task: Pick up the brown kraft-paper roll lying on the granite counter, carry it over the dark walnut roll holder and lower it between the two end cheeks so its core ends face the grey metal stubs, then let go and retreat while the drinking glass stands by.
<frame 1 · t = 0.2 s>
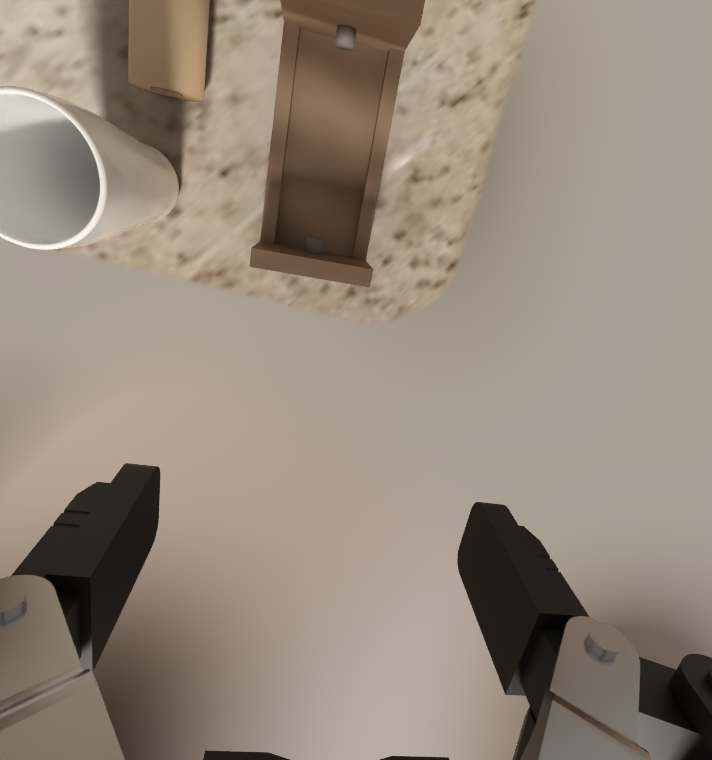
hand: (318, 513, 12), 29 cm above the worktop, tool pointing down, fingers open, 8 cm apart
roll: (180, 14, 31), on the worktop
holder: (327, 154, 35), on the worktop
drinking glass: (144, 183, 35), on the worktop
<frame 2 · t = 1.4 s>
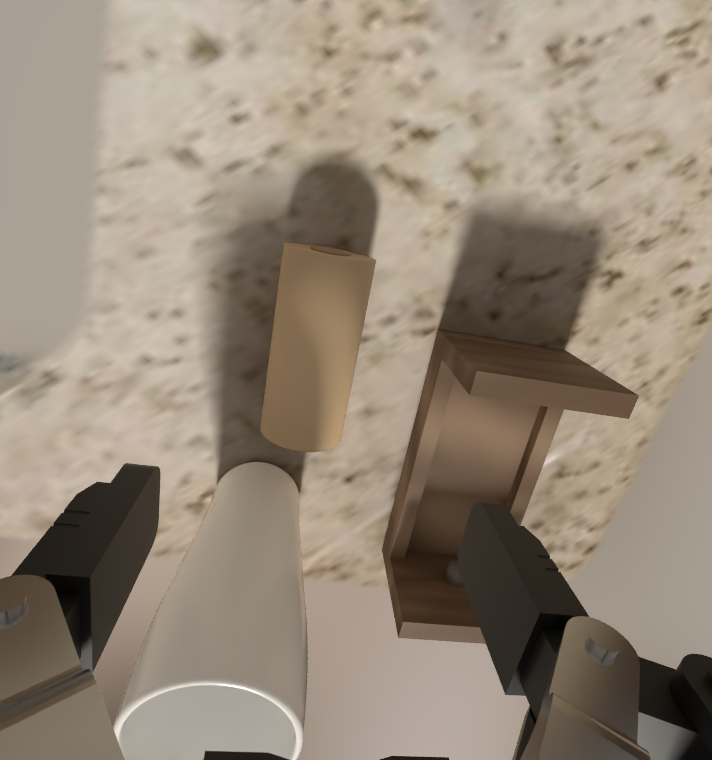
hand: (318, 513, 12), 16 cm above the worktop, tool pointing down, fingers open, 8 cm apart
roll: (314, 335, 27), on the worktop
holder: (466, 457, 30), on the worktop
drinking glass: (258, 491, 30), on the worktop
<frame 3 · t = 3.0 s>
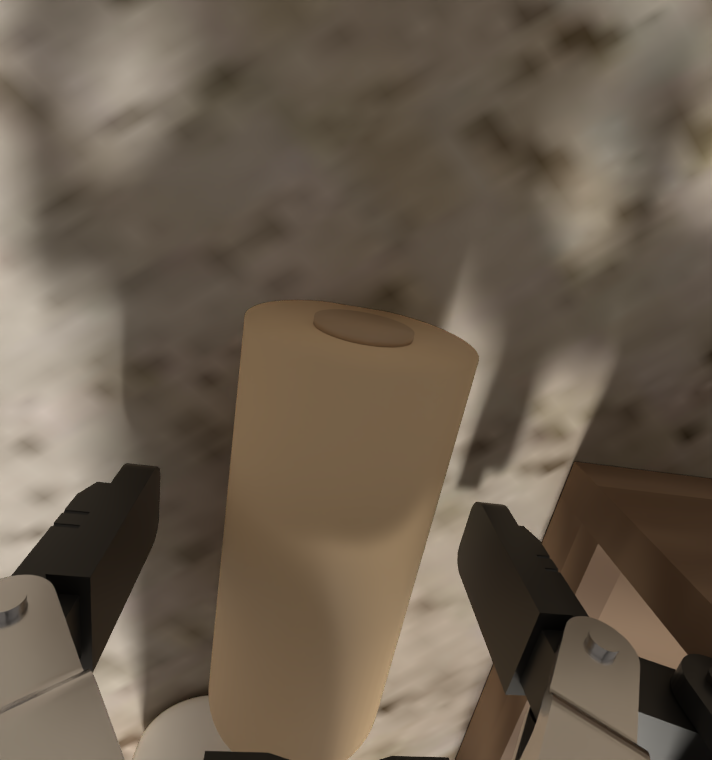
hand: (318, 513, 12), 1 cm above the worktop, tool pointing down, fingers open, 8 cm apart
roll: (323, 478, 13), on the worktop
holder: (599, 668, 17), on the worktop
drinking glass: (221, 730, 17), on the worktop
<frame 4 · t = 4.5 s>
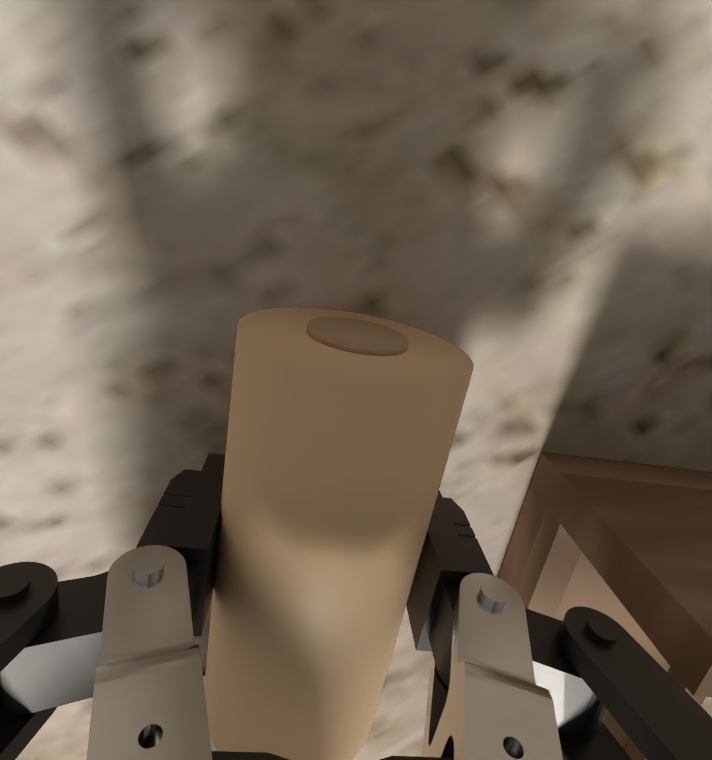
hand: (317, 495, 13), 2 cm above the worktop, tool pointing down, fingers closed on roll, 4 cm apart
roll: (318, 485, 13), point 1 cm above the worktop, touching gripper
holder: (572, 646, 18), on the worktop
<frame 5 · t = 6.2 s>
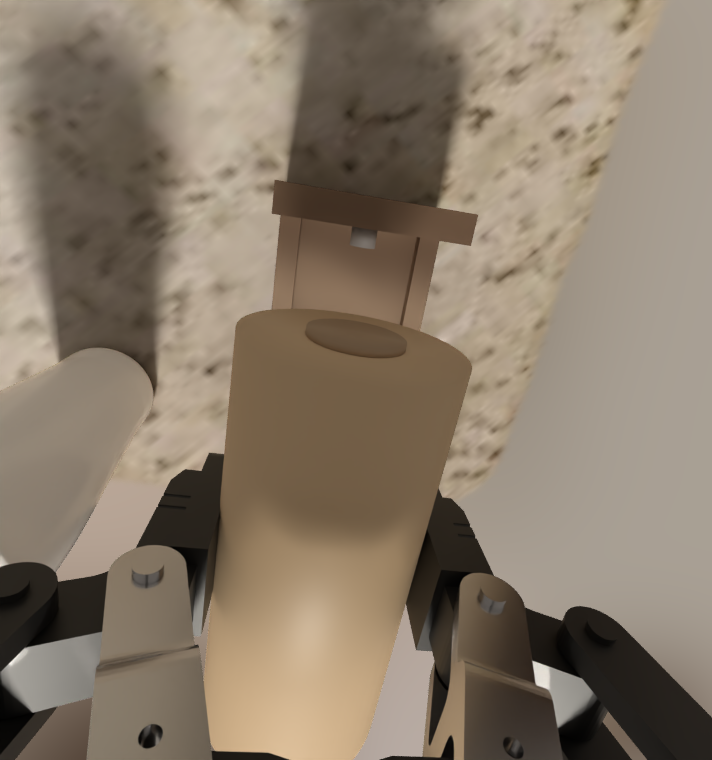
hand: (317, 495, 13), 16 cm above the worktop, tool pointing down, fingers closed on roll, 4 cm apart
roll: (317, 486, 13), point 15 cm above the worktop, touching gripper
holder: (340, 343, 27), on the worktop
drinking glass: (110, 386, 27), on the worktop
when the fingers open (3 cm above the worktop, at t = 8.5 s): roll stays where it is, resting on holder.
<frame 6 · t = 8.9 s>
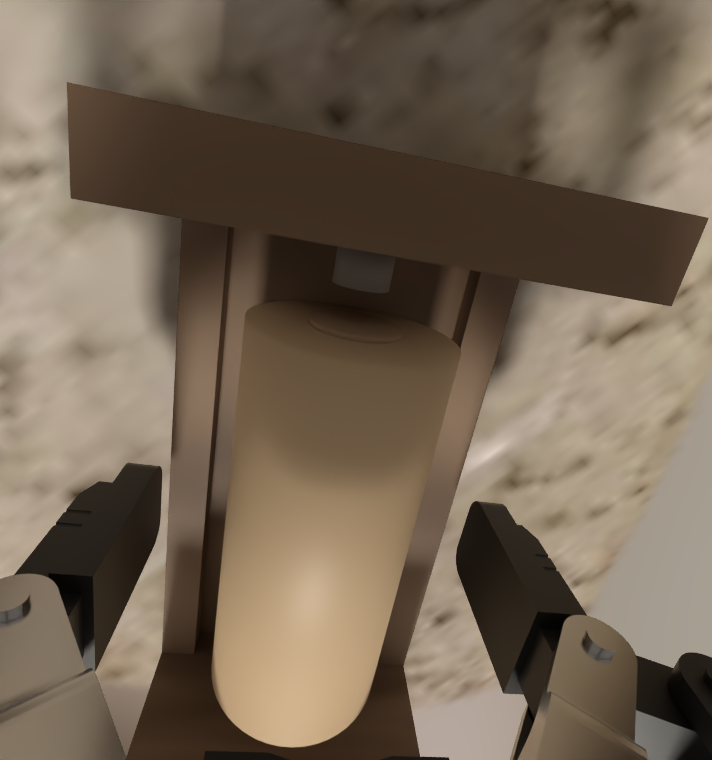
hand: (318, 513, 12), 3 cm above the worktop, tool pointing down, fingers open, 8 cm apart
roll: (318, 469, 14), point 1 cm above the worktop, touching holder
holder: (317, 448, 15), on the worktop
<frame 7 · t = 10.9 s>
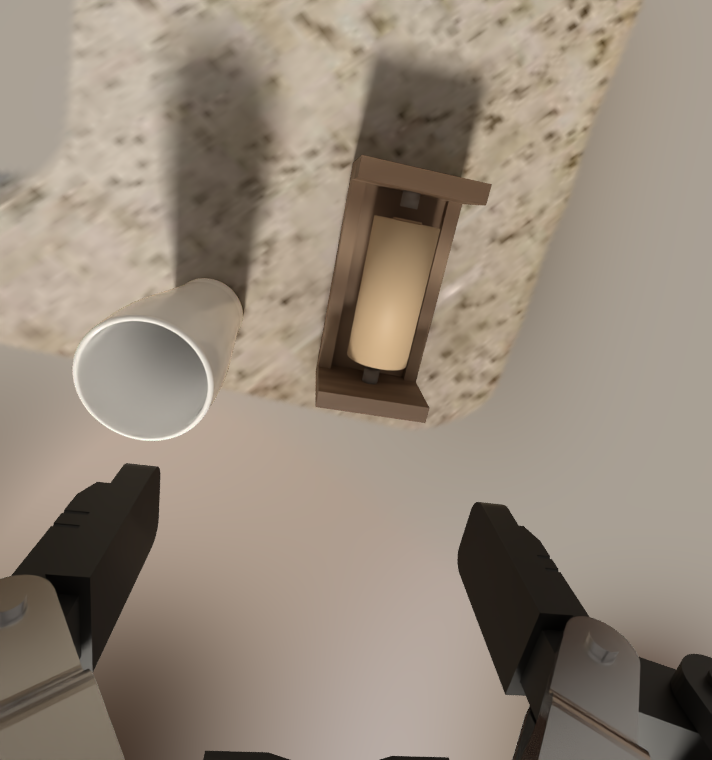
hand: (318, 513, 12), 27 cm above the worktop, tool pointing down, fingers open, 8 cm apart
roll: (385, 287, 36), point 1 cm above the worktop, touching holder
holder: (382, 284, 37), on the worktop
drinking glass: (210, 310, 37), on the worktop
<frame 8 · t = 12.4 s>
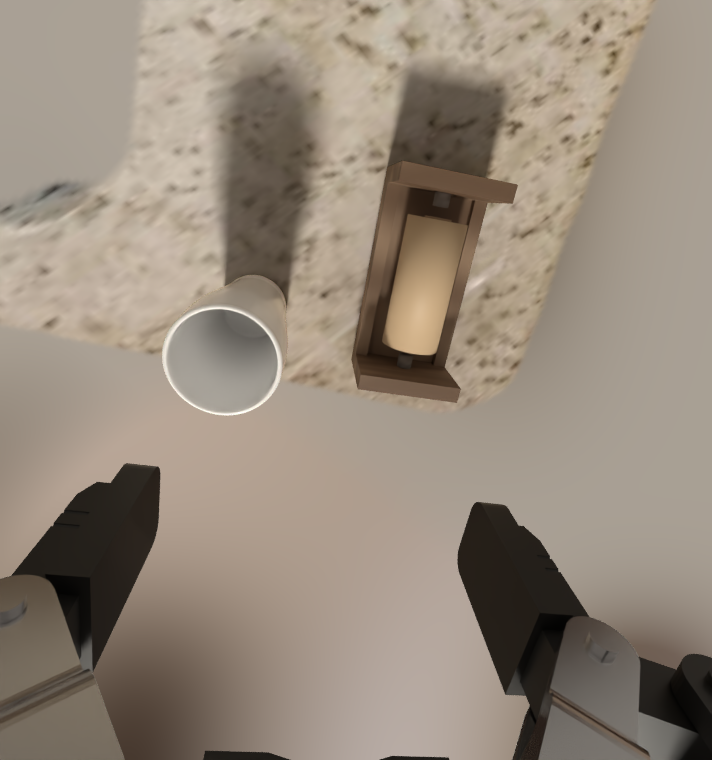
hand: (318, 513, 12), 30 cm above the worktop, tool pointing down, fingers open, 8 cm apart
roll: (416, 280, 39), point 1 cm above the worktop, touching holder
holder: (413, 278, 40), on the worktop
drinking glass: (255, 304, 40), on the worktop
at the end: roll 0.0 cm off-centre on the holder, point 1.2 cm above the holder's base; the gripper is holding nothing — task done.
